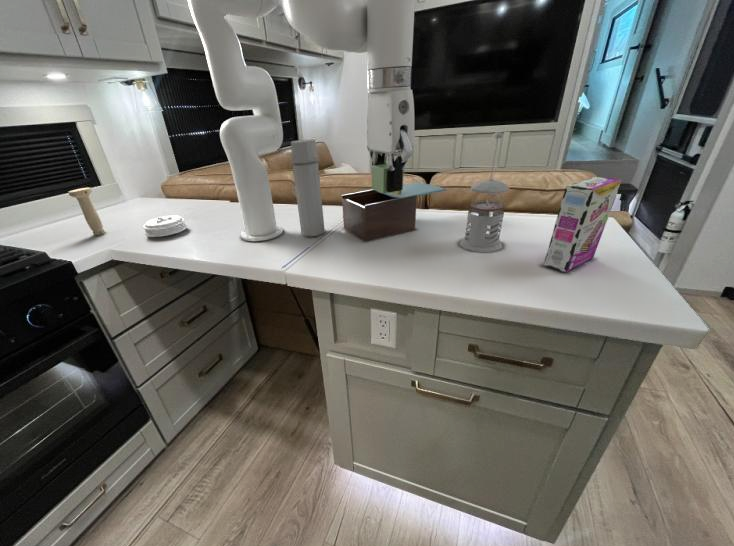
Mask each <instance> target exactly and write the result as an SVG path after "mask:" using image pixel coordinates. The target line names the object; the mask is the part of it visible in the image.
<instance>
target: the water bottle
mask: <svg viewBox="0 0 734 546" xmlns="http://www.w3.org/2000/svg"><path fill="white" fill-rule="evenodd" d="M290 150H291V151H290V152H291V160H290V163H291V164H292V173H293V181H294V189H295V194H296V195H295V196H296V203H297V204H296V205H297V210H298V211H297V212H298V218H299V226H300V233H301V234H302V236H304V237H310V238H311V237H318V236H321V235H323V234H324V233H325V231H326V230H325V221H324V210H323V199H322V198H323V197H322V189H321V179H320V168H319V167H320V166H319V162H318V161H321V159H319V153H318V148H317V142H316V139H312V138H311V139H300V140H299V139H298V140H292V141H290Z"/></svg>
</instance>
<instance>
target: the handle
mask: <svg viewBox="0 0 734 546" xmlns="http://www.w3.org/2000/svg"><path fill="white" fill-rule="evenodd" d="M67 193H68V195H69V196H70V197H72V198H75V199H76V200H77V202H78V204H79V206H80V210H81V212H82V214H83V218H84V220H85V221H86V223H87V225H88V227H89V229H90V230H91V231H92V234H93V235H94V236H101V235H104V234H105V229H104V225H103V223H102V221H101V218H100V215H99V213H98V212H97V210H96V208H95V206H94V204H93V202H92V200H91V198H90V195H91V193H92V188H91V187H80V188H75V189H72V190H68V191H67Z"/></svg>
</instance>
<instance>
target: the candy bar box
mask: <svg viewBox="0 0 734 546" xmlns="http://www.w3.org/2000/svg"><path fill="white" fill-rule="evenodd" d="M622 181H623V180H622V179H619V178H609V177H601V176H594V177H590V178H588V179H585V180H584V179H583V180H582V181H577V182H575V183H572V184H568V185H565V188H564V192H563V195H562V198H561V203H560V206H559V210H558V213H557V217H556V220H555V222H554V224H555V225H554V227H553V230H552V234H551V238H550V241H549V245H548V248H547V251H546V254H545V258H544V261H543V264H542V265H543V267H546V268H549V269H553V270H556V271H558V272H562V273H568V272H570V271H572V270H574V269H576V268H577V267H579V266H581V265H583V264H585V263H587V262H589V261H591V260H592V259H594V257H595V254H596V252H597V249H598V246H599V243H600V241H601V238H602V235H603V232H604V230H605V227H606V224H607V221H608V219H609V216H610V214H611V211H612V209H613V206H614V203H615V201H616V197H617V195H618V192H619V189H620V187H621V184H622Z"/></svg>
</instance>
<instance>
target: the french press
mask: <svg viewBox="0 0 734 546" xmlns="http://www.w3.org/2000/svg"><path fill="white" fill-rule="evenodd" d="M503 136H504V134H503V132H502V131H496V132H494V133H493V135H492V139H496V142H495V148H494V154H493V161H492V167H491V173H490V178H489V179H484V180H481V181H478V182H475V183H474V184H472V185H471V186H470V189H471V190H472V192H475V193H479V194H487V199H486V200H479V201H475V202H472V203H471V204H470V207H471V208H470V209H469V210H468V211H467V219H466V225H465V226H466V227H465V231H464V233H465V234H464V238H463V239H461V241H460V242H459V245H460V247H461V248H463V249H465V250H467V251H468V250H469V251H471V252H476V253H477V252H478V253H490V252H497V251H500V250H501V249H502V248H503V244H502V243H501V241H500V237H501V231H502V227H503V225H502V224H503V221H504V215H505V212H504V210H503V208H504V207H505V205H504V204H503V203H502V197H503V196H502V195H503V193H506V192H508V191H509V190H510V186H509V185H508V184H506V183H505V182H503V181H500V180H498V179H493V172H494V167H495V166H494V165H495V159H496V153H497V147H498V140H499V139H503ZM499 194H500V196H499ZM489 196H492V197H493V200H492V201H491V200H489ZM498 196H499V197H500V200H499V202H498V201H495V200H496V199H495V198H496V197H498ZM473 213H474V214H473ZM476 214H477V215H476ZM488 226H489V228H488ZM487 232H489V233H487Z"/></svg>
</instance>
